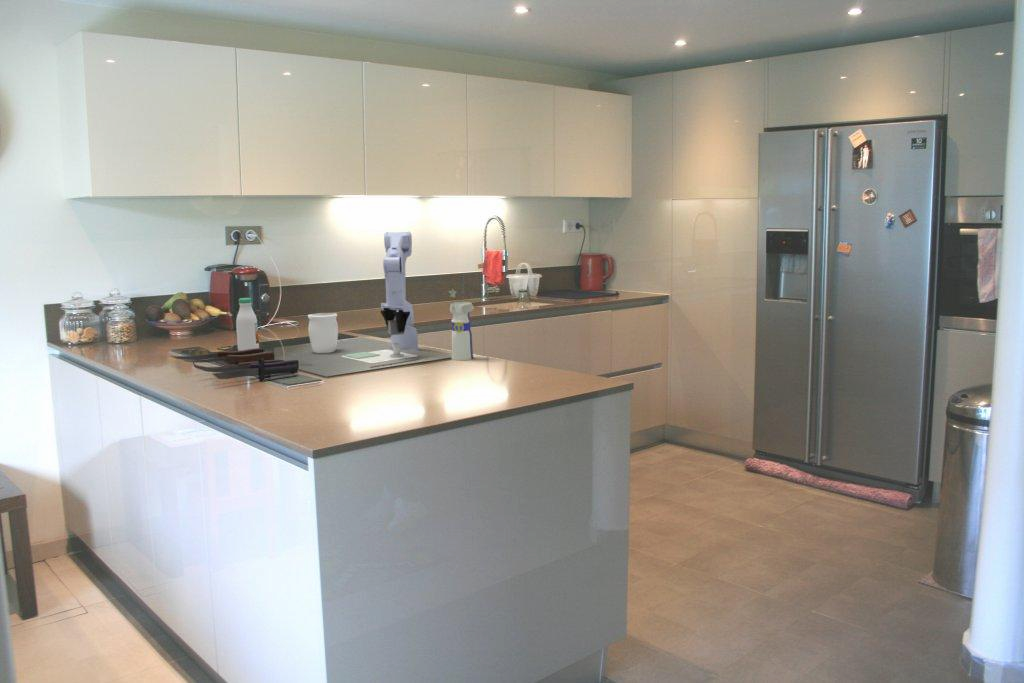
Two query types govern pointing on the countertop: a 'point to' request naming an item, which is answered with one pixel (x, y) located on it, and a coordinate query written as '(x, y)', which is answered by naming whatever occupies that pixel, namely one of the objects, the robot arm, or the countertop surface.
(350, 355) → the pad
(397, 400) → the countertop surface
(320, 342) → the jar
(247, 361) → the knife set
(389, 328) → the gray handled box
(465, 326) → the white spray bottle
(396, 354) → the mount board
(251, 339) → the milk bottle
